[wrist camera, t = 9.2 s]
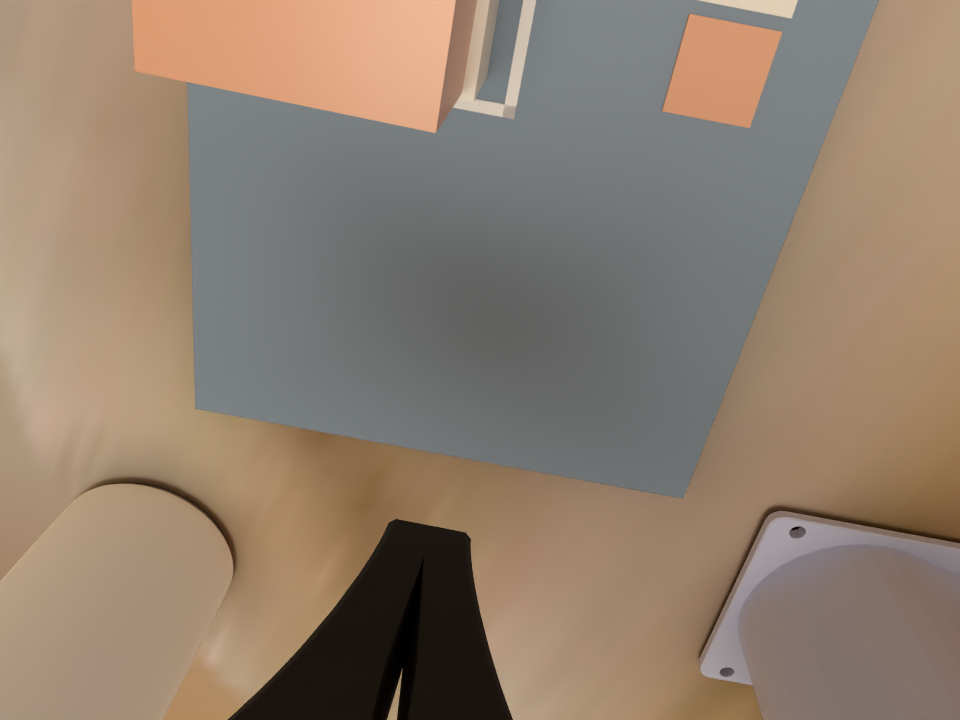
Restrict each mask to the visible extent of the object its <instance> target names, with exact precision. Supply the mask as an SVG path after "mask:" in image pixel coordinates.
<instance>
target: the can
mask: <svg viewBox="0 0 960 720" xmlns="http://www.w3.org/2000/svg"><path fill="white" fill-rule="evenodd" d="M232 576H233V560H232V555H231V552H230V549H229V547H228V544H227V542H226V540H225V538H224V536H223V534H222V532H221V531H220V529H219V528H218V526H217V525H216V524H215V522H214V521H213V520H212V519H211V518H210V517H209V516H208V515H207V514H206V513H205V512H204V511H203V510H202V509H200V508H199V507H198V506H196V505H195V504H193V503H192V502H190V501H189V500H187V499H185V498H184V497H182V496H180V495H178V494H176V493H173V492H171V491H168V490H165V489H162V488H159V487H155V486H150V485H145V484H111V485H105V486H101V487H97V488H94V489H91V490H89V491H87V492H85V493H83V494H82V495H80V496H79V497H77V498H76V499H75V500H74V501H73V502H72V503H70V504H69V505H68V506H67V507H66V509H65V510H64V511H63V512H62V513H61V514H60V515H59V516H58V517H57V518H56V520H55V521H54V522H53V523H52V524H51V525H50V526H49V527H48V528H47V529H46V530H45V532H44V533H43V534H42V535H41V536H40V537H39V539H37V541H36V542H35V543H34V544H33V545H32V546H31V547H30V549H29V550H28V551H27V552H26V553H25V554H24V555H23V556H22V557H21V558H20V560H19V561H18V562H17V563H16V564H15V565H14V566H13V567H12V569H11V570H10V571H9V572H8V573H7V574H6V575H5V577H4V578H3V579H2V580H1V581H0V720H163V718H164V716H165V714H166V713H167V711H168V708H169V707H170V704H171V703H172V701H173V699H174V697H175V695H176V693H177V691H178V689H179V687H180V685H181V683H182V681H183V679H184V677H185V675H186V673H187V671H188V669H189V667H190V665H191V663H192V661H193V659H194V657H195V655H196V653H197V651H198V649H199V647H200V645H201V643H202V641H203V639H204V637H205V635H206V633H207V631H208V629H209V627H210V625H211V623H212V621H213V619H214V617H215V615H216V613H217V611H218V609H219V607H220V605H221V603H222V601H223V599H224V597H225V595H226V593H227V591H228V589H229V586H230V584H231V581H232Z"/></svg>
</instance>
